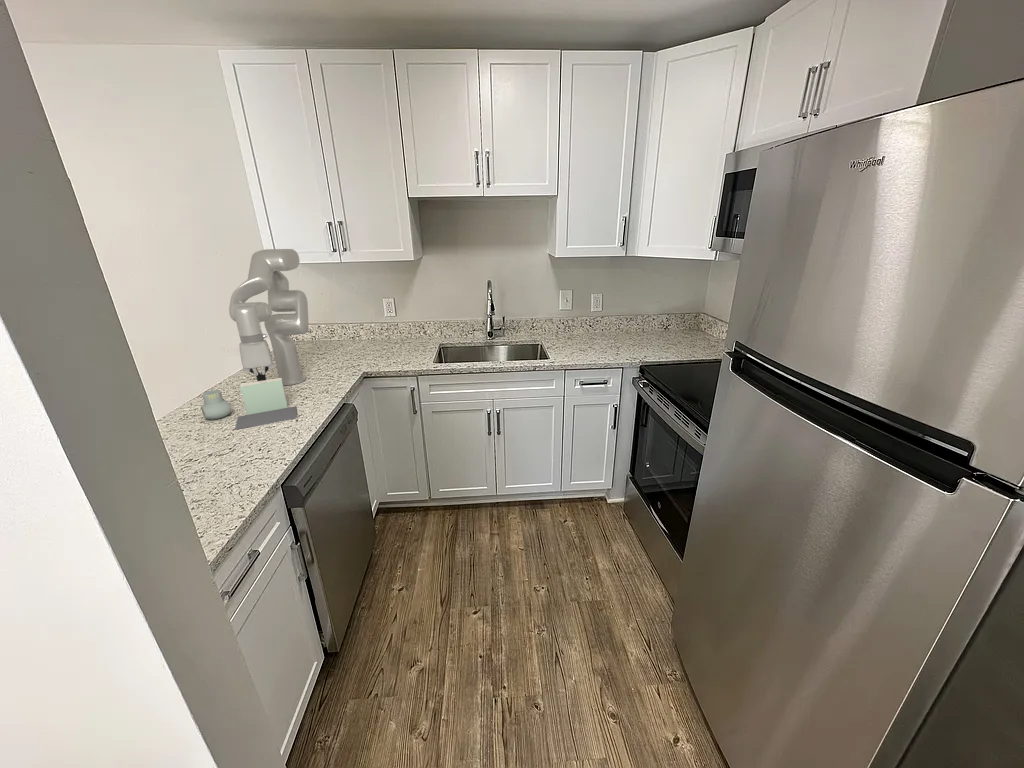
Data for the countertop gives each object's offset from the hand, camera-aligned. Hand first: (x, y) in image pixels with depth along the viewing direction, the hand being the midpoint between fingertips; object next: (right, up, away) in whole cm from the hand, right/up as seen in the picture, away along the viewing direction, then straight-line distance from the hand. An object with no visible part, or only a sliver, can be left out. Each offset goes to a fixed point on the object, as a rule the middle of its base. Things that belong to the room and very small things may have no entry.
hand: (262, 383), depth 168 cm
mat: (+6, -13, -7) cm, 16 cm away
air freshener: (-14, -13, -5) cm, 20 cm away
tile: (+2, -11, 0) cm, 11 cm away
